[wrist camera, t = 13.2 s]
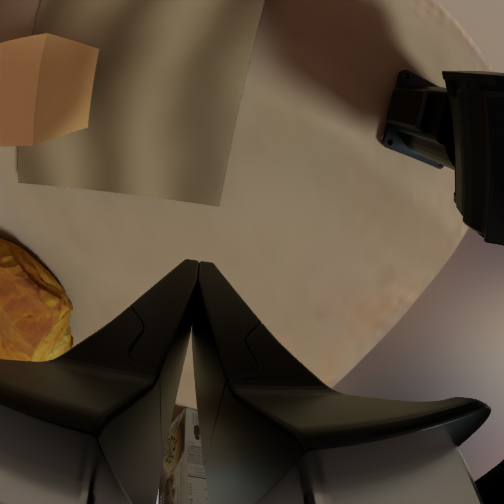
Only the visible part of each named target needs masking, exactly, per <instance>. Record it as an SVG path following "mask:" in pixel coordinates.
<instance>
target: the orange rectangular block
mask: <svg viewBox="0 0 504 504" xmlns="http://www.w3.org/2000/svg"><path fill="white" fill-rule="evenodd" d="M98 53H99V49H98V48H95V47H92V46H89V45H86V44H83V43H80V42H76V41H73V40H70V39H66V38H63V37H59V36H56V35H52V34H48V33H44V34H39V35H33V36H28V37H23V38H18V39H14V40H10V41H5V42H1V43H0V146H34V145H37V144H39V143H42V142H45V141H48V140H51V139H54V138H56V137H59V136H62V135H65V134H69V133H72V132H75V131H78V130H81V129H85V128H88V120H89V111H90V103H91V95H92V88H93V81H94V75H95V69H96V64H97V58H98Z"/></svg>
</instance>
